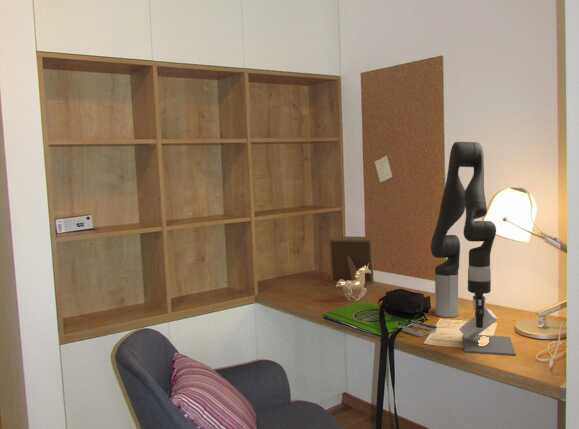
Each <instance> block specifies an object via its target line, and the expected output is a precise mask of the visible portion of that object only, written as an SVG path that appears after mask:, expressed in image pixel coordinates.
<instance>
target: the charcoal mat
mask: <svg viewBox="0 0 579 429" xmlns="http://www.w3.org/2000/svg"><path fill="white" fill-rule="evenodd" d="M462 336H463V338H462V340H463V339H464V340H463V352H464V353H469V354H470V353H472V354H487V355H501V356H502V355H503V356H516V350H515V349H514V345H513V342H512V339H511V336H505V335H503V336H502V335H490V334H489V335H487V334H486V335H483V334H479V335H477V336H476V337H475V338H473V339H472V340H470V339H467V338H465V336H464V335H463V334H462ZM482 336H486V337H489V343H488V344H487V345H485V346H479V345H478V344H479V343H478V340H480V337H482Z"/></svg>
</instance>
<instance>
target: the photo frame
mask: <svg viewBox="0 0 579 429" xmlns="http://www.w3.org/2000/svg"><path fill="white" fill-rule="evenodd" d="M328 246H329V248H328V249H329V262H330V264H329V265H330V277H331V278H330V279H331V283H334V284H338V283H337V282H338V281H339V280H341V279H343V280H345V281H347V280H350V281H355V280H356V279H355V278H356V277H354V276H356V275H355V274H356V272H357V271H358V269H360V268H361V267H364V265H365V266H368V269H369V270H370V271H371V273H370V274H369V273H365V284H364V285H366V284H367V285H373V283H374V281H375V280H374V259H373V258H374V257H373V255H374V254H373V253H374V252H373V236H349V235H347V236H345V235H344V236H343V235H342V236H340V235H339V236H336V235H335V236H334V235H333V236H332V235H331V236H329V238H328ZM368 263H369V265H368Z"/></svg>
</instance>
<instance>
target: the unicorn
mask: <svg viewBox="0 0 579 429" xmlns="http://www.w3.org/2000/svg"><path fill="white" fill-rule="evenodd" d="M368 265H369V263H368ZM365 273H369V274H370V273H371V271H370V270H369V269H368V266H365V265H364V267H361V268H360V269H358V271H357V272H356V274H355V275H356V276H354V277H356V278H355V279H356V280H355V281H350V280H347V281H345V280H343V279H341V280H339V281H338V282H337V283H336V285H335V288H342V289H343V292H344V297H345V298H346V299H347V300H348V302H351V301H352V300H351V299H354V300H355V302H358V301H360V300H361V298H363V297H364V296H365V295H366V293H367V291H368V289H367V288H366V287H365V285H366V284H365ZM358 290H359V291H360V292H359V295H358V297H357V298H356V297H355V296H354V295H352V294H353V291H358Z"/></svg>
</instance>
